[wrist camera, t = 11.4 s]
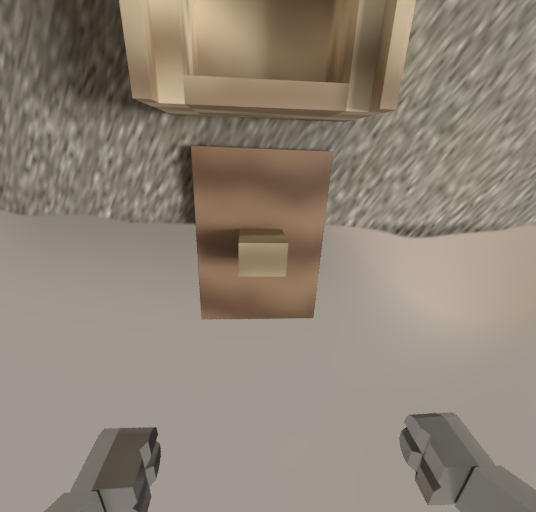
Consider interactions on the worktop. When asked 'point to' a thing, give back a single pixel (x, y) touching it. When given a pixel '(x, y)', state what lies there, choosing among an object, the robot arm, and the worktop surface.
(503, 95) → the worktop surface
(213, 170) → the cover plate
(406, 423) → the robot arm
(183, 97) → the birch box
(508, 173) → the worktop surface
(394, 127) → the worktop surface
